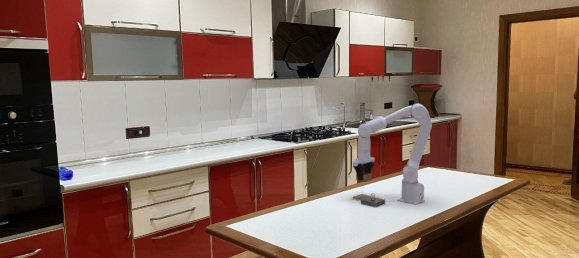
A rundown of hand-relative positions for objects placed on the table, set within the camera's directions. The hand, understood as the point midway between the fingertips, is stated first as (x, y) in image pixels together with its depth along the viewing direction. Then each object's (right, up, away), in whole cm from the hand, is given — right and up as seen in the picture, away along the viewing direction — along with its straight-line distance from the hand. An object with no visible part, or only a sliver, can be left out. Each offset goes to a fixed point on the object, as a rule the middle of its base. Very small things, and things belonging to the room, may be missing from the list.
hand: (363, 179), depth 199 cm
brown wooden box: (0, -1, 0) cm, 0 cm away
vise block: (+3, -10, -8) cm, 13 cm away
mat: (0, -9, +1) cm, 9 cm away
